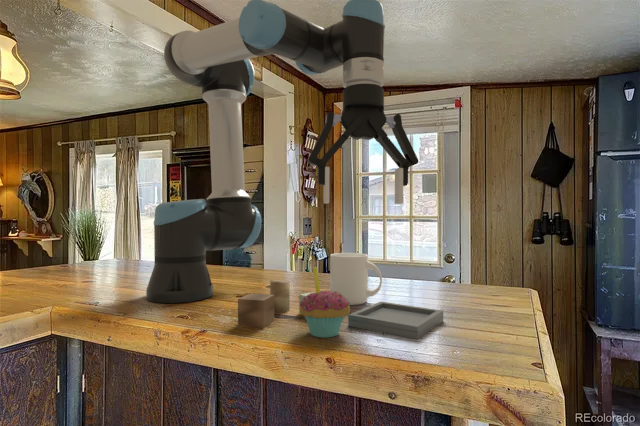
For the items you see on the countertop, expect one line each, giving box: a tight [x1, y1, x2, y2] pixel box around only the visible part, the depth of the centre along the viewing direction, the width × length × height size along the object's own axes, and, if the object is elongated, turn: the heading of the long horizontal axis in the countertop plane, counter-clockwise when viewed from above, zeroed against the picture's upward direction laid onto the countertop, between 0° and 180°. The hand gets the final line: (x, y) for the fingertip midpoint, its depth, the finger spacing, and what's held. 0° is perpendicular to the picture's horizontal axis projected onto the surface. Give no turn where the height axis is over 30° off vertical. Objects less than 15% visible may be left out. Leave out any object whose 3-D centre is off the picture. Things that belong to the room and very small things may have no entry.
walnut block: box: [237, 292, 275, 329], centre depth 73 cm, size 5×5×5 cm
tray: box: [347, 301, 444, 340], centre depth 73 cm, size 13×13×2 cm
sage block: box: [298, 291, 315, 316], centre depth 80 cm, size 5×5×4 cm
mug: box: [329, 252, 383, 306], centre depth 91 cm, size 9×12×11 cm
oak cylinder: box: [269, 279, 291, 314], centre depth 83 cm, size 4×4×6 cm
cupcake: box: [300, 262, 351, 339], centre depth 67 cm, size 9×8×12 cm
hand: (363, 203), depth 73 cm, fingers open, 13 cm apart
